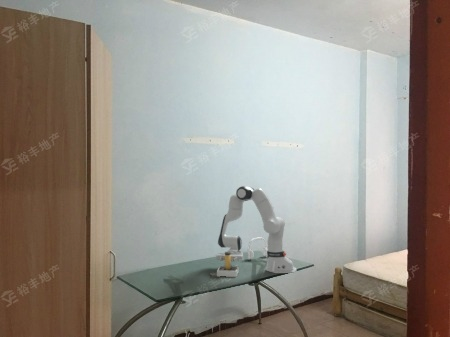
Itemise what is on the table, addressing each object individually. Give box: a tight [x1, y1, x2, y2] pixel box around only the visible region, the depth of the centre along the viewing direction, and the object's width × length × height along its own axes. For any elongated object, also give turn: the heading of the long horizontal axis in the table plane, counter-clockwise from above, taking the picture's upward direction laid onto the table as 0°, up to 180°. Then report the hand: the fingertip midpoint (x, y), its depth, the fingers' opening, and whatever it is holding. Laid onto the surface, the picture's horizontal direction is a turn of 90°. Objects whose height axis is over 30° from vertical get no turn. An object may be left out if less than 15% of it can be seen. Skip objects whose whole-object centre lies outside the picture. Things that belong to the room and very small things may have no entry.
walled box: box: [216, 265, 240, 278], centre depth 244 cm, size 14×13×4 cm
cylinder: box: [224, 251, 232, 270], centre depth 245 cm, size 4×4×14 cm
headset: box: [247, 236, 268, 260], centre depth 290 cm, size 20×7×18 cm, turn 122°
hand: (227, 259), depth 244 cm, fingers open, 8 cm apart
